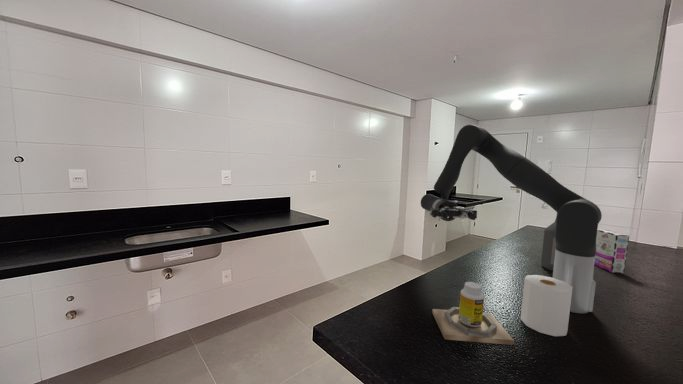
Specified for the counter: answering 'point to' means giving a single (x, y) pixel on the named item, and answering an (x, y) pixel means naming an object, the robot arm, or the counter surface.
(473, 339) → the seat plate
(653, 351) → the counter surface
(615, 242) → the candy bar box
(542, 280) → the toilet paper
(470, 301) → the supplement bottle
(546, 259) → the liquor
